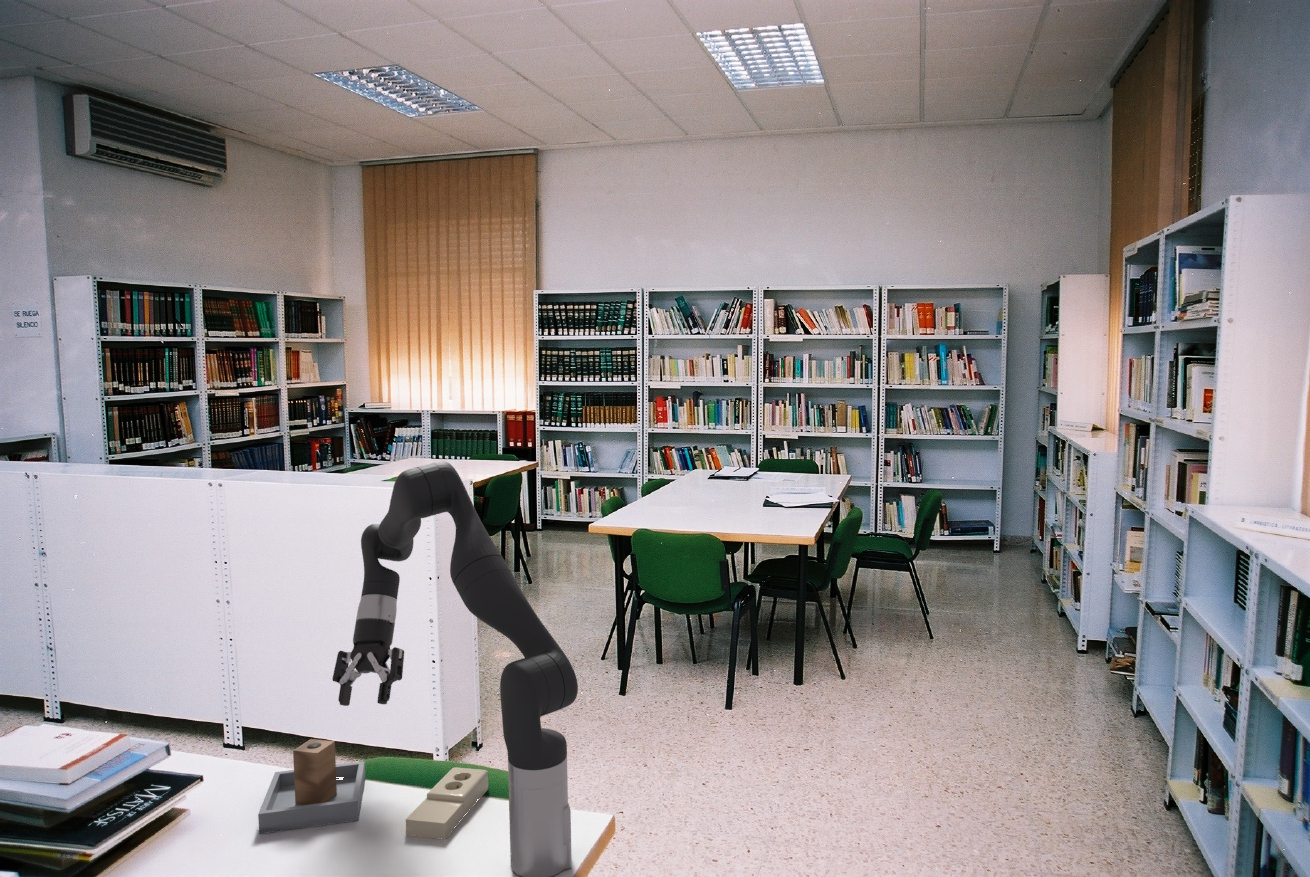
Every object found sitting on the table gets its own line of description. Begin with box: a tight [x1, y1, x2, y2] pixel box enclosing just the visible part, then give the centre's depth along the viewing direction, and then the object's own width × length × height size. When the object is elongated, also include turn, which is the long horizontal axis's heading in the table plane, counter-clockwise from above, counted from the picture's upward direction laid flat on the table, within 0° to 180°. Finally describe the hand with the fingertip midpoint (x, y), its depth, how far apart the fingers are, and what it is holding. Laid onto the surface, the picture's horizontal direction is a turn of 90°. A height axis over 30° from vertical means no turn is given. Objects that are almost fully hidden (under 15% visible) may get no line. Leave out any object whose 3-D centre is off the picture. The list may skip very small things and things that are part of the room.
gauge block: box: [292, 738, 337, 806], centre depth 152 cm, size 5×5×10 cm
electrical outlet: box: [405, 766, 489, 840], centre depth 150 cm, size 7×4×18 cm
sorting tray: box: [257, 761, 366, 835], centre depth 153 cm, size 16×16×4 cm
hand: (363, 704), depth 162 cm, fingers open, 8 cm apart
